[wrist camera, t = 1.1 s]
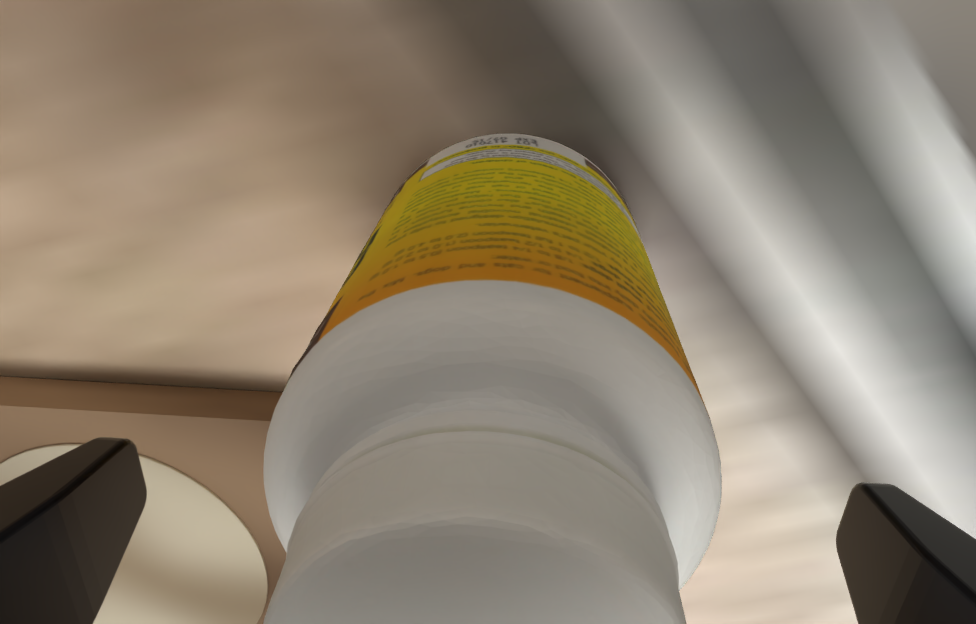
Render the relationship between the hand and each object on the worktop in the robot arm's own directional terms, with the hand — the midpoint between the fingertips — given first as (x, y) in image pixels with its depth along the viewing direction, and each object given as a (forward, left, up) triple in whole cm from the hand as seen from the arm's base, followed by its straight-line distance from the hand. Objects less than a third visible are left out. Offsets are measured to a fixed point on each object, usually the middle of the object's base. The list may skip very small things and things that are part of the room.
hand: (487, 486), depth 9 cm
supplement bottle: (0, 0, -8) cm, 8 cm away
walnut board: (-9, +10, -7) cm, 15 cm away
